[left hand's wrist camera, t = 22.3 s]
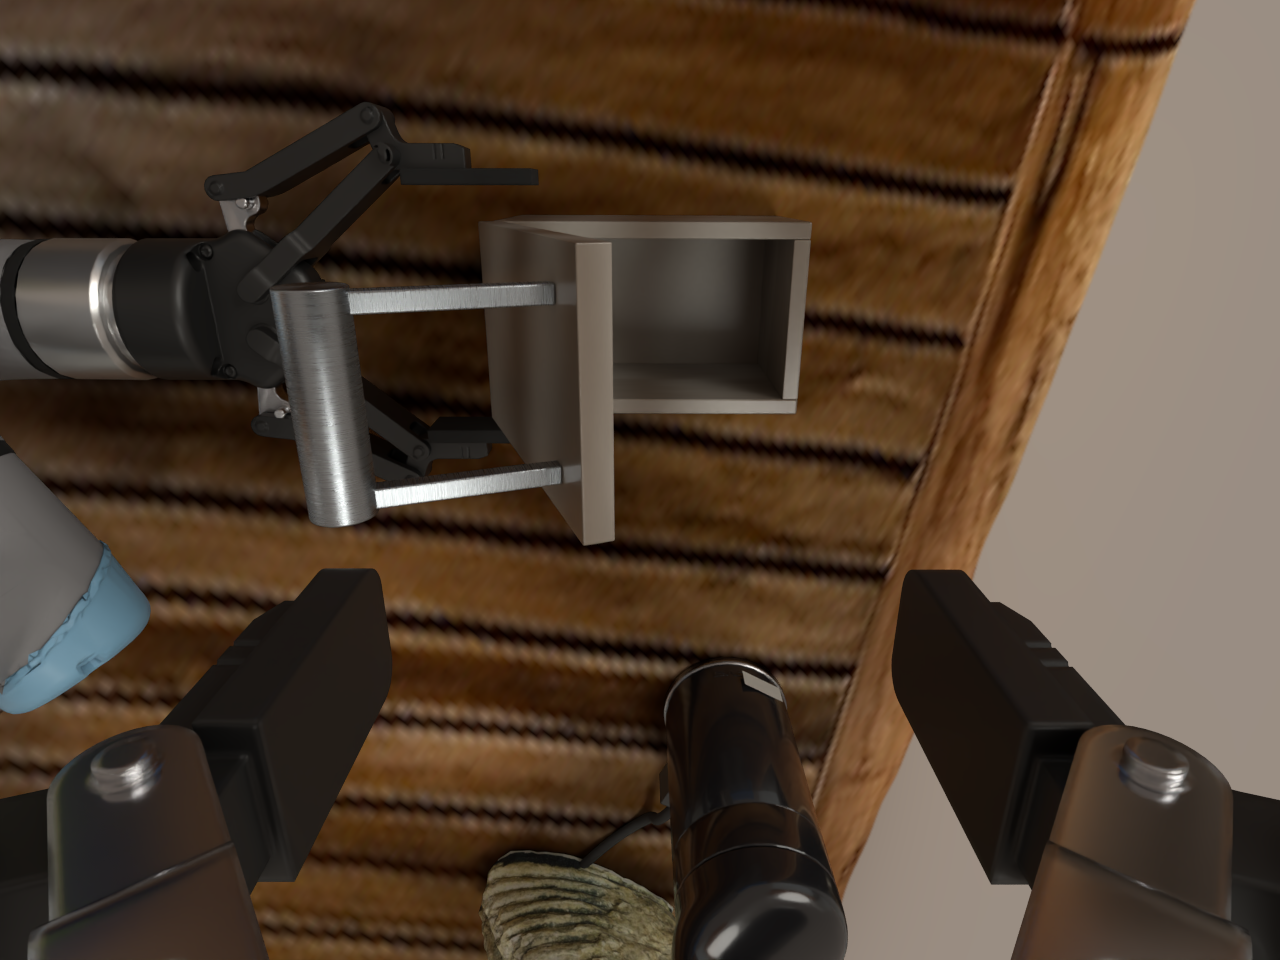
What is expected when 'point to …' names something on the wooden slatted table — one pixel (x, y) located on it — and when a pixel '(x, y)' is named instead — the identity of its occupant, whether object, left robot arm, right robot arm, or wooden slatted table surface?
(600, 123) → the wooden slatted table surface
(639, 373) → the chest
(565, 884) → the fossil
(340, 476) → the grey piece
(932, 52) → the wooden slatted table surface
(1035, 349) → the wooden slatted table surface
